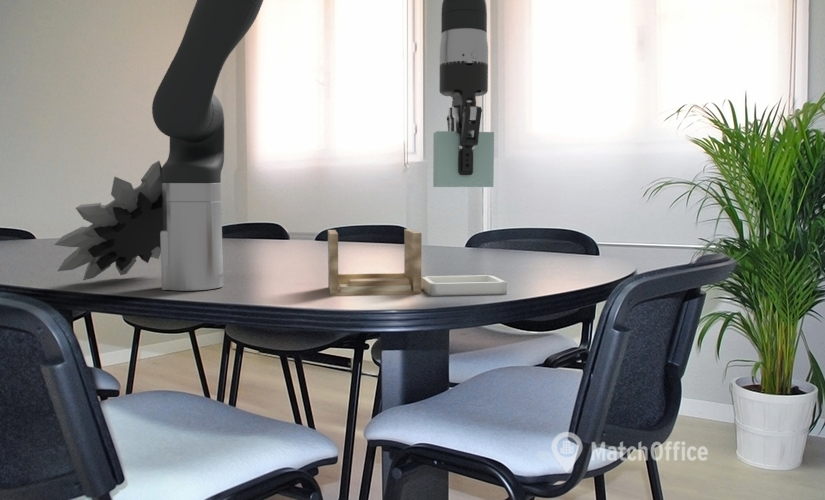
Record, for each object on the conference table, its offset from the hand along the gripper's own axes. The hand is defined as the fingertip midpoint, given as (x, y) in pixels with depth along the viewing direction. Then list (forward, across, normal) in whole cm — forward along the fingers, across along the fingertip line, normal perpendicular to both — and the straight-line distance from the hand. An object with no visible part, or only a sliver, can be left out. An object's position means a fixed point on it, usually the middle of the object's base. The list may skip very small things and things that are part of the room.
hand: (462, 174), depth 106 cm
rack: (+19, -3, -14) cm, 23 cm away
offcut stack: (+19, 0, -14) cm, 23 cm away
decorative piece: (+16, -32, -53) cm, 64 cm away
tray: (+19, 0, 0) cm, 19 cm away
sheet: (+2, 0, 0) cm, 2 cm away
